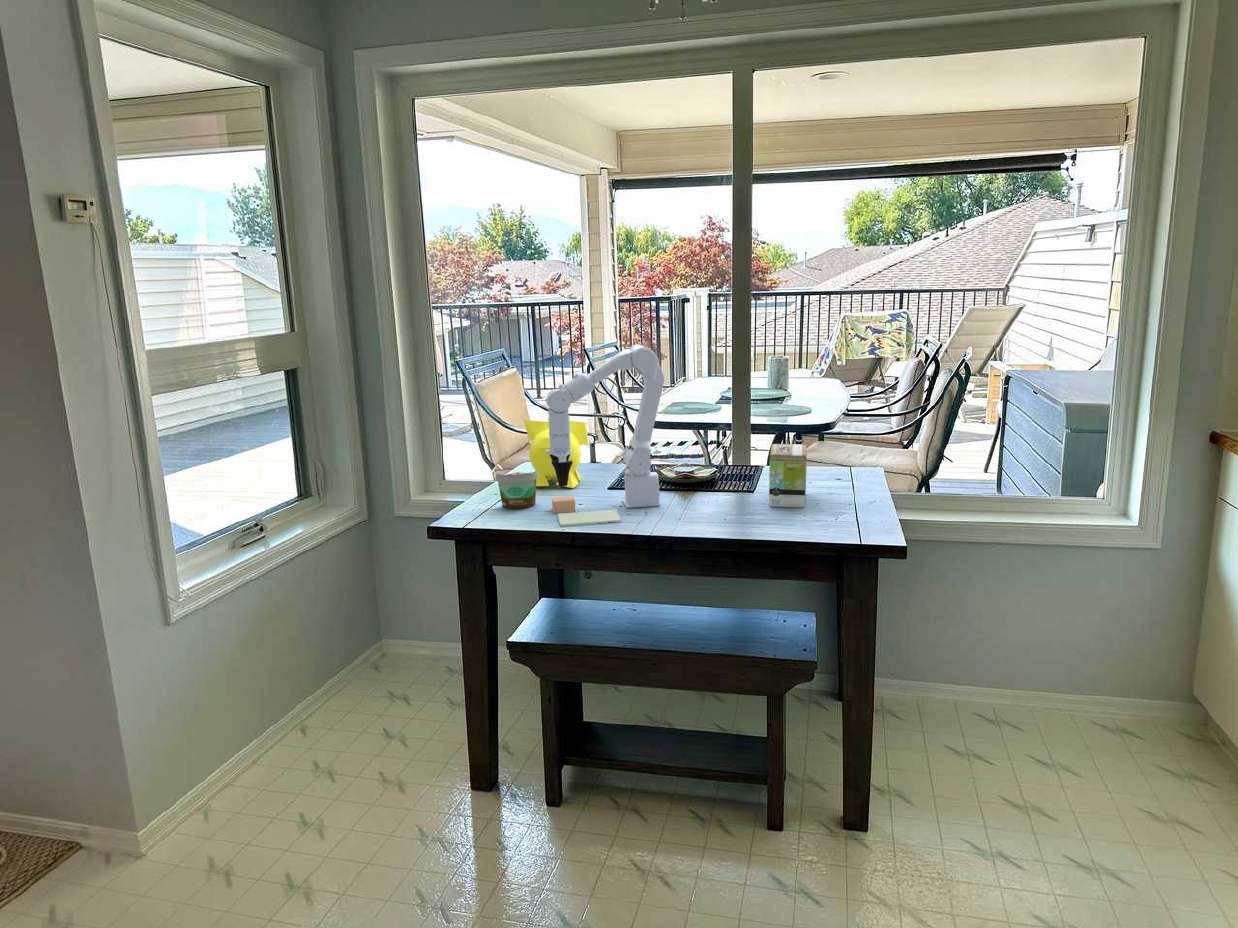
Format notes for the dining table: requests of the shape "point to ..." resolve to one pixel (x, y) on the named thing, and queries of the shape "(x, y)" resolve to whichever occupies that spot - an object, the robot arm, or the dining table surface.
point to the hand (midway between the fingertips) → (562, 482)
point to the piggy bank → (541, 443)
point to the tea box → (787, 475)
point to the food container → (517, 490)
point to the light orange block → (563, 504)
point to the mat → (588, 517)
